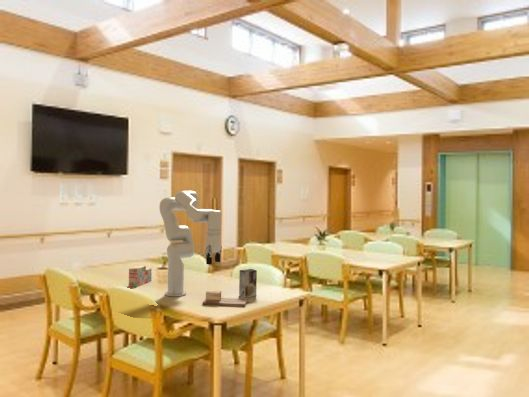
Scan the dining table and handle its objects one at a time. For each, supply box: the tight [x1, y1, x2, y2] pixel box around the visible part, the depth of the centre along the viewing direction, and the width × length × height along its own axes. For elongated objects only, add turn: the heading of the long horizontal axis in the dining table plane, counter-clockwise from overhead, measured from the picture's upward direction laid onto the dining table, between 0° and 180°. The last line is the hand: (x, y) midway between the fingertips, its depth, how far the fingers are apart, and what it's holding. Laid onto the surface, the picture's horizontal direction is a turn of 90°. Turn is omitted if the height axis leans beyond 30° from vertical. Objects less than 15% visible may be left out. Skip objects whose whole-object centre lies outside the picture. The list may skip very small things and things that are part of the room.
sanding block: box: [205, 289, 222, 301], centre depth 269 cm, size 5×8×5 cm, turn 84°
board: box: [201, 297, 249, 308], centre depth 268 cm, size 12×24×2 cm, turn 84°
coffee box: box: [238, 268, 258, 299], centre depth 288 cm, size 9×6×16 cm
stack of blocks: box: [128, 265, 152, 288], centre depth 316 cm, size 21×6×12 cm, turn 168°
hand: (213, 263), depth 261 cm, fingers open, 9 cm apart
